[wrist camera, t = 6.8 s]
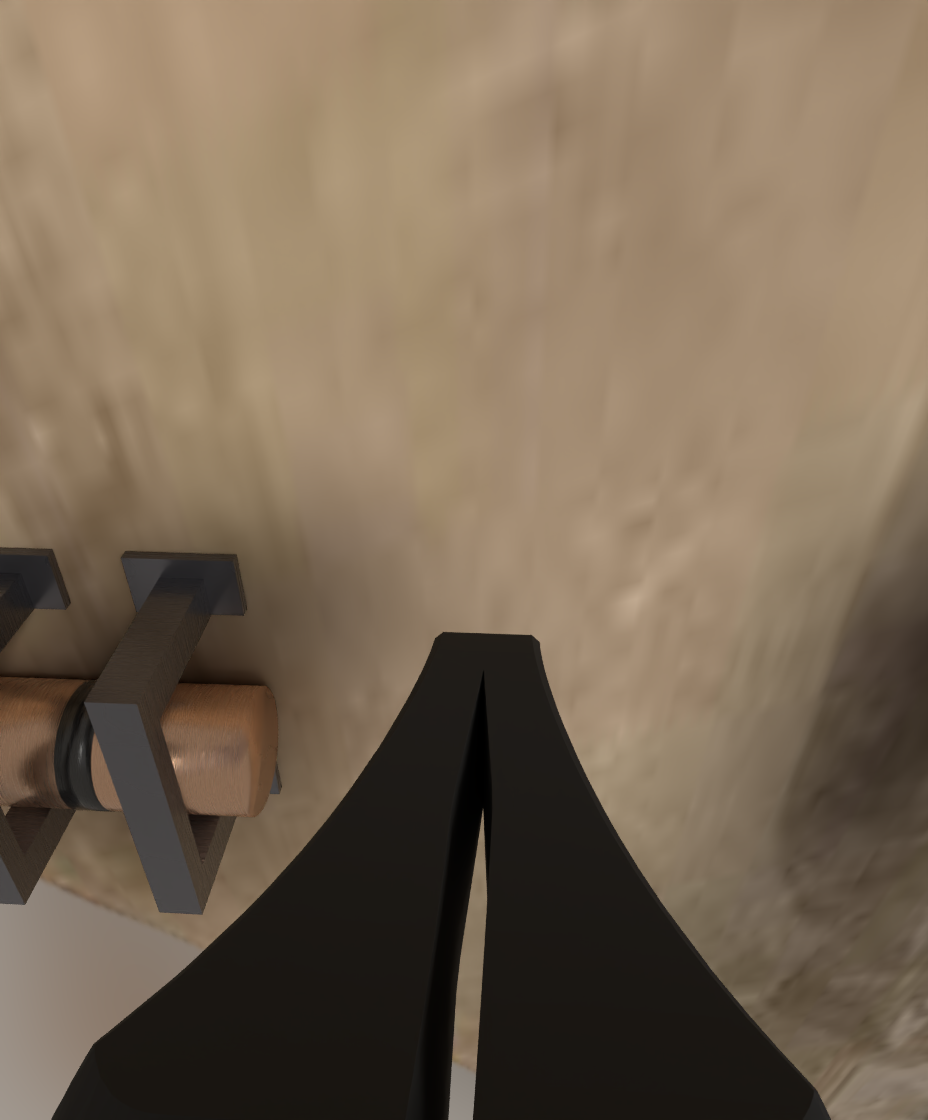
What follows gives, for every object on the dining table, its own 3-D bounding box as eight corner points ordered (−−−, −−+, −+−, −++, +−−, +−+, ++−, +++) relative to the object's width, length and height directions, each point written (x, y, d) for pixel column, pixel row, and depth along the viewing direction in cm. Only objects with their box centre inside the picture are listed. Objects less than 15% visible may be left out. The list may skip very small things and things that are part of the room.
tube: (253, 667, 24) (230, 803, 22) (284, 707, 27) (266, 828, 25) (-64, 656, 24) (-109, 788, 23) (4, 697, 27) (-31, 814, 26)
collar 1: (52, 549, 23) (-52, 677, 19) (131, 780, 28) (62, 919, 24) (-57, 546, 23) (-182, 671, 19) (41, 775, 28) (-41, 913, 24)
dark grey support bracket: (236, 555, 23) (170, 685, 19) (281, 786, 28) (238, 929, 24) (125, 551, 23) (36, 680, 19) (191, 782, 28) (132, 923, 24)
